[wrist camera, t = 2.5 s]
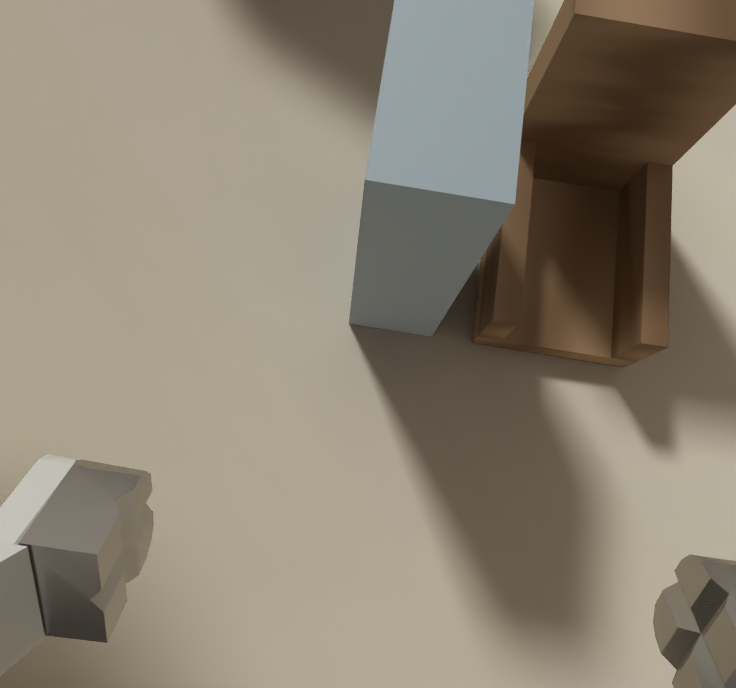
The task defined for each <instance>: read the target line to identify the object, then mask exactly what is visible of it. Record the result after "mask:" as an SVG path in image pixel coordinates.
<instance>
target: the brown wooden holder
mask: <svg viewBox="0 0 736 688" xmlns="http://www.w3.org/2000/svg"><path fill="white" fill-rule="evenodd" d="M735 104H736V0H564V2H563V4H562V6H561V8H560V11H559V13H558V15H557V17H556V19H555V21H554V23H553V25H552V28H551V30H550V32H549V34H548V36H547V38H546V40H545V42H544V45H543V47H542V49H541V51H540V53H539V55H538V57H537V59H536V62H535V64H534V66H533V68H532V70H531V72H530V74H529V76H528V79H527V84H526V94H525V105H524V115H523V126H522V136H521V147H520V157H519V167H518V178H517V188H516V199H515V205H514V207H513V208H512V210H511V211H510V213H509V215H508V216H507V218H506V219H505V221H504V223H503V224H502V226H501V227H500V229H499V230H498V232H497V234H496V235H495V237H494V238H493V240H492V242H491V243H490V245H489V246H488V248H487V250H486V251H485V253H484V254H483V256H482V257H481V262H480V271H479V280H478V290H477V299H476V308H475V317H474V327H473V336H472V343H475V344H482V345H488V346H494V347H501V348H507V349H513V350H520V351H526V352H532V353H539V354H545V355H551V356H558V357H564V358H570V359H577V360H583V361H589V362H596V363H602V364H608V365H614V366H621V367H625V366H627V365H629V364H631V363H634V362H636V361H638V360H640V359H643V358H645V357H647V356H649V355H652V354H654V353H656V352H658V351H660V350H663V349H665V348H667V347H668V319H669V280H670V241H671V202H672V166H673V165H674V164H675V163H676V162H677V161H678V160H679V159H680V158H681V157H682V156H683V155H684V154H685V153H686V152H687V151H688V150H689V149H690V148H691V147H692V146H693V145H694V144H695V143H696V142H697V141H698V140H699V139H700V138H701V137H702V136H704V135H705V134H706V133H707V132H708V131H709V130H710V129H711V128H712V127H713V126H714V125H715V124H716V123H717V122H718V121H719V120H720V119H721V118H722V117H723V116H724V115H725V114H726V113H727V112H728V111H729V110H730V109H731V108H732V107H733V106H734V105H735Z"/></svg>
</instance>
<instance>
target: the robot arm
mask: <svg viewBox="0 0 736 688" xmlns="http://www.w3.org/2000/svg"><path fill="white" fill-rule="evenodd" d="M151 492H152V482H151V474H150V473H148V472H147V471H142V470H137V469H131V468H126V467H120V466H114V465H109V464H103V463H98V462H92V461H87V460H77V459H72V458H66V457H61V456H55V455H50V454H47V455H45V456H44V457H42V458H40V459H38V460H37V461H36V462H35V464H34V465H33V466H32V467H31V469H30V470H29V471H28V472H27V474H26V475H25V476H24V477H23V479H22V480H21V481H20V483H19V484H18V485H17V486H16V488H15V489H14V490H13V491H12V493H11V494H10V495H9V496H8V498H7V499H6V500H5V501H4V503H3V504H2V505H1V507H0V676H1V675H2V674H3V673H5V672H6V671H7V670H8V669H10V668H11V667H12V666H13V665H14V664H16V663H17V662H18V661H19V660H21V659H22V658H23V657H24V656H26V655H27V654H28V653H29V652H30V651H32V650H33V649H34V648H35V647H37V646H38V645H39V644H40V643H41V642H43V641H44V640H45V635H46V636H55V637H63V638H71V639H80V640H88V641H97V642H105V643H107V642H108V640H109V638H110V636H111V633H112V631H113V629H114V627H115V625H116V623H117V621H118V619H119V616H120V614H121V612H122V610H123V608H124V606H125V604H126V601H127V599H126V583H128V582H129V581H131V580H132V579H133V578H135V577H136V576H138V575H139V573H140V571H141V569H142V566H143V564H144V562H145V560H146V557H147V553H148V550H149V546H150V543H151V539H152V532H153V511H152V510H151V509H150V508H149V507H148V506H147V504H146V502H147V500H148V498H149V496H150V494H151ZM675 574H676V576H677V579H678V582H677V583H675V584H673V585H671V586H669V587H668V588H666V589H664V590H663V591H662V593H661V594H660V596H659V598H658V600H657V602H656V604H655V610H654V619H653V625H654V631H655V638H656V640H657V643H658V646H659V649H660V652H661V654H662V655H663V656H664V657H665V658H666V659H667V660H668V661H669V662H670V663H671V664H672V665H673V666H674V667H675V668H676V669H677V670H676V673H675V676H674V678H673V681H672V684H673V687H674V688H736V561H731V560H724V559H717V558H710V557H703V556H696V555H689V556H687V557H685V558H683V559H682V560H681V561H680V563H679V564H678V566H677V568H676V569H675Z"/></svg>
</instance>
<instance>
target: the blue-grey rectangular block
mask: <svg viewBox="0 0 736 688" xmlns="http://www.w3.org/2000/svg"><path fill="white" fill-rule="evenodd" d="M533 10H534V0H394V5H393V11H392V18H391V24H390V30H389V36H388V42H387V48H386V54H385V60H384V66H383V72H382V78H381V84H380V91H379V97H378V103H377V109H376V115H375V121H374V127H373V133H372V139H371V145H370V151H369V157H368V163H367V170H366V176H365V183H364V192H363V201H362V210H361V219H360V228H359V237H358V246H357V255H356V264H355V273H354V282H353V291H352V300H351V309H350V318H349V324H354V325H360V326H367V327H373V328H379V329H386V330H392V331H398V332H405V333H411V334H417V335H424V336H430V337H432V335H433V334H434V332H435V331H436V329H437V327H438V326H439V324H440V323H441V321H442V319H443V318H444V316H445V315H446V313H447V311H448V310H449V308H450V307H451V305H452V304H453V302H454V300H455V299H456V297H457V296H458V294H459V292H460V291H461V289H462V288H463V286H464V284H465V283H466V281H467V280H468V278H469V277H470V275H471V273H472V272H473V270H474V269H475V267H476V265H477V264H478V262H479V261H480V259H481V257H482V256H483V254H484V253H485V251H486V250H487V248H488V246H489V245H490V243H491V242H492V240H493V238H494V237H495V235H496V234H497V232H498V230H499V229H500V227H501V226H502V224H503V223H504V221H505V219H506V218H507V216H508V215H509V213H510V211H511V210H512V208H513V207H514V205H515V199H516V188H517V178H518V167H519V157H520V147H521V136H522V126H523V115H524V105H525V94H526V84H527V73H528V63H529V52H530V42H531V31H532V21H533Z"/></svg>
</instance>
